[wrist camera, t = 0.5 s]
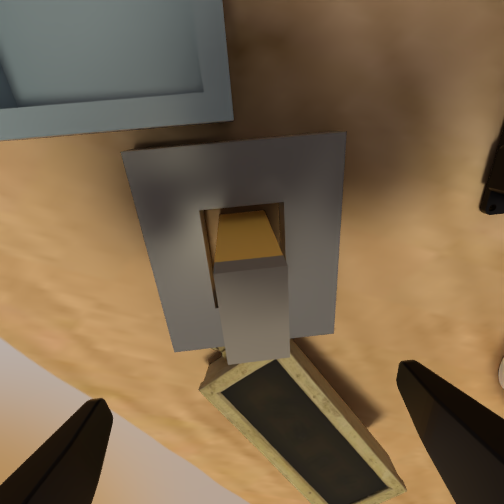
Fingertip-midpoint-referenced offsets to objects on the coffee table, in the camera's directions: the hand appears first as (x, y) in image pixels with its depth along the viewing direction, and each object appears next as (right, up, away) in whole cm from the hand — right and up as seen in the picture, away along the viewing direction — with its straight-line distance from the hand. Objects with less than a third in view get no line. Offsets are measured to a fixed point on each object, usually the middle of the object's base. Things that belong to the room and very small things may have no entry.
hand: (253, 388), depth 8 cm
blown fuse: (0, +5, +11) cm, 12 cm away
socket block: (0, +5, +11) cm, 12 cm away
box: (+4, -9, +18) cm, 20 cm away
